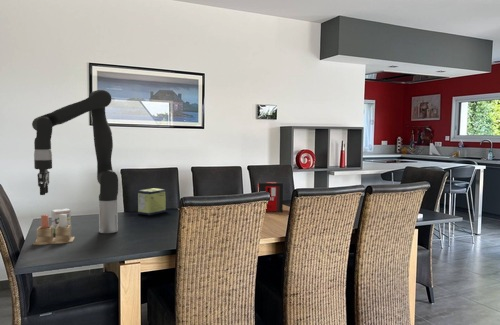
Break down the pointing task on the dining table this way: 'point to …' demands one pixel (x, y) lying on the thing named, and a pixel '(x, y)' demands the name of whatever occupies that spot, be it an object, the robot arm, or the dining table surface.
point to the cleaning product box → (273, 195)
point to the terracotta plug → (44, 221)
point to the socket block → (61, 235)
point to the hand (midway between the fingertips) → (44, 193)
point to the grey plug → (63, 220)
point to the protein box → (151, 201)
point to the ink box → (56, 217)
